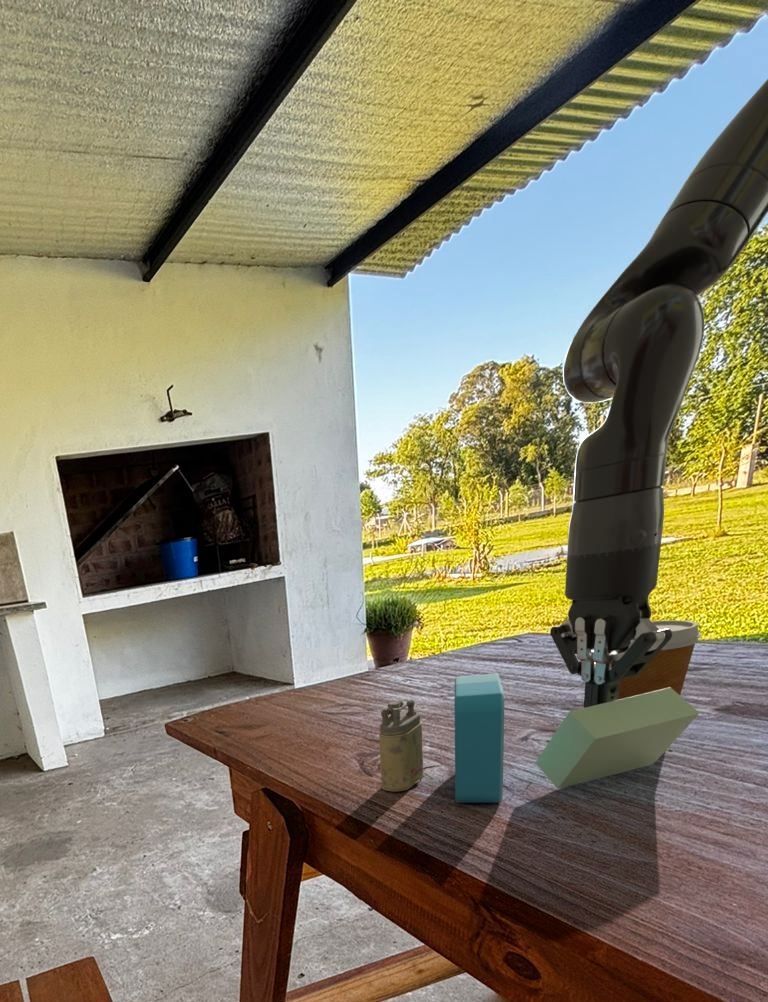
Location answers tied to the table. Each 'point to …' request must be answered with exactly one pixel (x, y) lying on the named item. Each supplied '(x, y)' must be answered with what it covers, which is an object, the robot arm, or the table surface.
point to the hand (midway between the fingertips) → (599, 715)
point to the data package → (479, 739)
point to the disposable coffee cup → (665, 661)
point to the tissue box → (615, 737)
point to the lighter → (400, 747)
